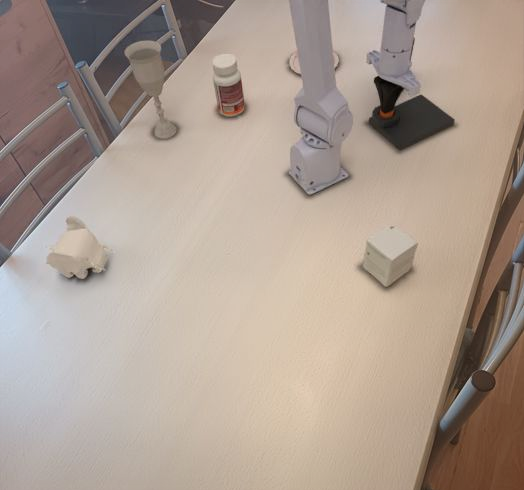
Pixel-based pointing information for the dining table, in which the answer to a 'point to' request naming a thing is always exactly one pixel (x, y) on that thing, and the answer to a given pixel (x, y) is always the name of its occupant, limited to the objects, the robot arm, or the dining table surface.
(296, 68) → the teacup
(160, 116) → the chalice
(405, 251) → the product box
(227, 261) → the dining table surface
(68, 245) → the elephant figurine
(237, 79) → the pill bottle
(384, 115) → the button
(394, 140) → the scale
